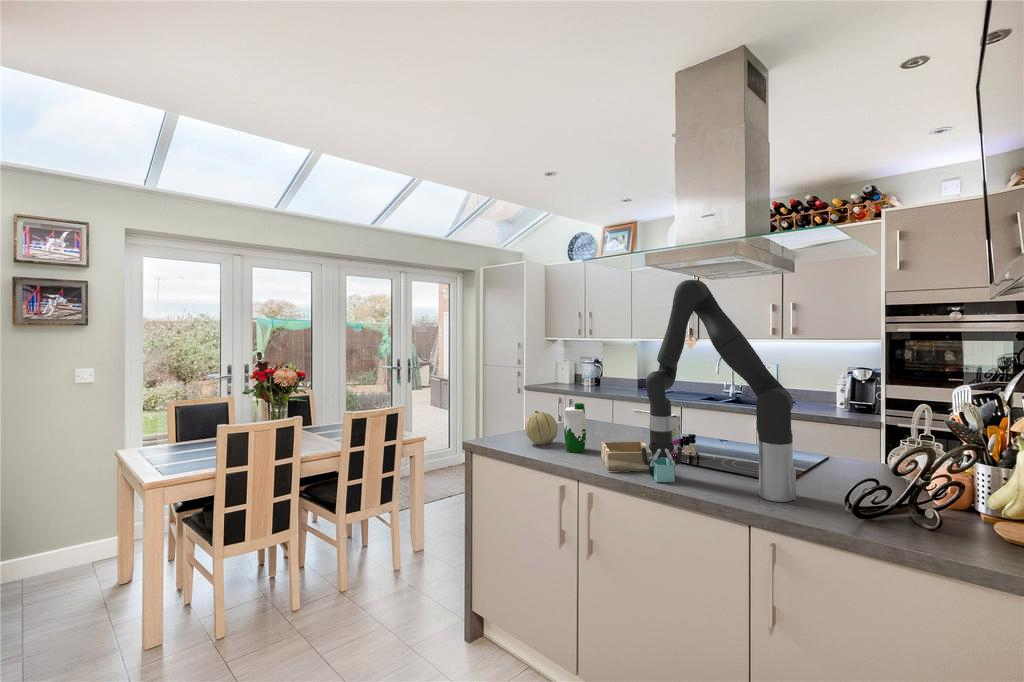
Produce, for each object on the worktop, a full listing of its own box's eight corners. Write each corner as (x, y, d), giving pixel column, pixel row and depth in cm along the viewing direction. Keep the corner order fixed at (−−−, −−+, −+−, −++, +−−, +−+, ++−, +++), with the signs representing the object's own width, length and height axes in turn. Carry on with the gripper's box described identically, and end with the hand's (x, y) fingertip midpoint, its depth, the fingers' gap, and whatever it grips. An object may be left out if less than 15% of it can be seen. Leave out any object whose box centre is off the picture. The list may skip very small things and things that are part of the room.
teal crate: (649, 474, 184) (649, 457, 184) (666, 473, 184) (666, 457, 184) (656, 482, 174) (656, 465, 174) (674, 482, 174) (674, 465, 174)
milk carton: (585, 453, 215) (584, 405, 215) (563, 452, 217) (562, 405, 217) (586, 448, 224) (585, 402, 223) (566, 447, 226) (564, 402, 225)
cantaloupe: (551, 449, 223) (550, 415, 223) (520, 447, 230) (519, 413, 229) (562, 441, 237) (562, 409, 236) (533, 439, 243) (532, 408, 242)
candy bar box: (674, 453, 212) (673, 413, 211) (681, 456, 207) (680, 415, 206) (649, 455, 209) (649, 415, 208) (656, 458, 204) (655, 417, 203)
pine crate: (601, 459, 205) (600, 442, 205) (642, 458, 205) (642, 441, 204) (608, 472, 188) (607, 453, 187) (653, 471, 187) (653, 452, 187)
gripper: (642, 431, 175) (643, 480, 175) (685, 429, 174) (686, 479, 175) (637, 426, 182) (638, 473, 183) (678, 425, 182) (679, 472, 182)
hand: (661, 476), depth 179 cm, fingers closed on teal crate, 6 cm apart
